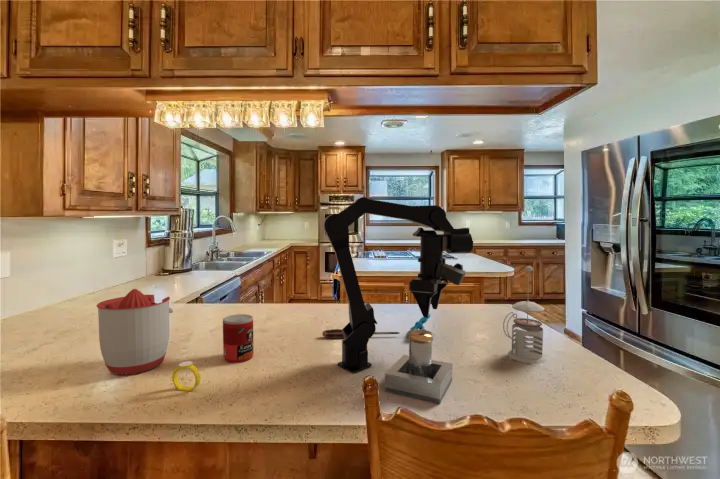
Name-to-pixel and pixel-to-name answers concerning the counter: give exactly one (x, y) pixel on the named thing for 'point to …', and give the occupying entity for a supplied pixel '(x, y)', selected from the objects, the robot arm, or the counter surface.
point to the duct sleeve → (420, 353)
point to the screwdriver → (338, 334)
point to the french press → (526, 333)
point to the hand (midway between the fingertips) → (430, 312)
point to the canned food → (238, 338)
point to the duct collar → (419, 381)
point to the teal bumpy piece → (419, 324)
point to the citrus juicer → (133, 332)
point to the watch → (184, 366)
